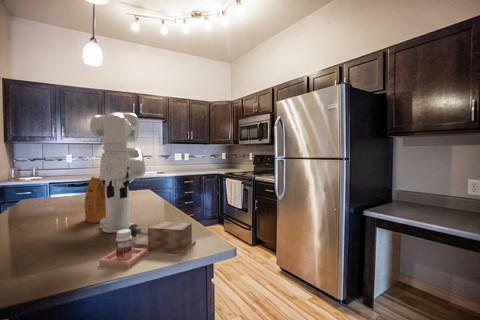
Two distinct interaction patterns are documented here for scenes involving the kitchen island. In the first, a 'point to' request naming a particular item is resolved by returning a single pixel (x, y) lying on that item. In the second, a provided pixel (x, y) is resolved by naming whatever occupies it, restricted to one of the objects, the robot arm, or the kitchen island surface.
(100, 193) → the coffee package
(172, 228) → the block
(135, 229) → the shaft
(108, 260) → the tray
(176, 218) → the kitchen island surface
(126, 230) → the pill bottle
